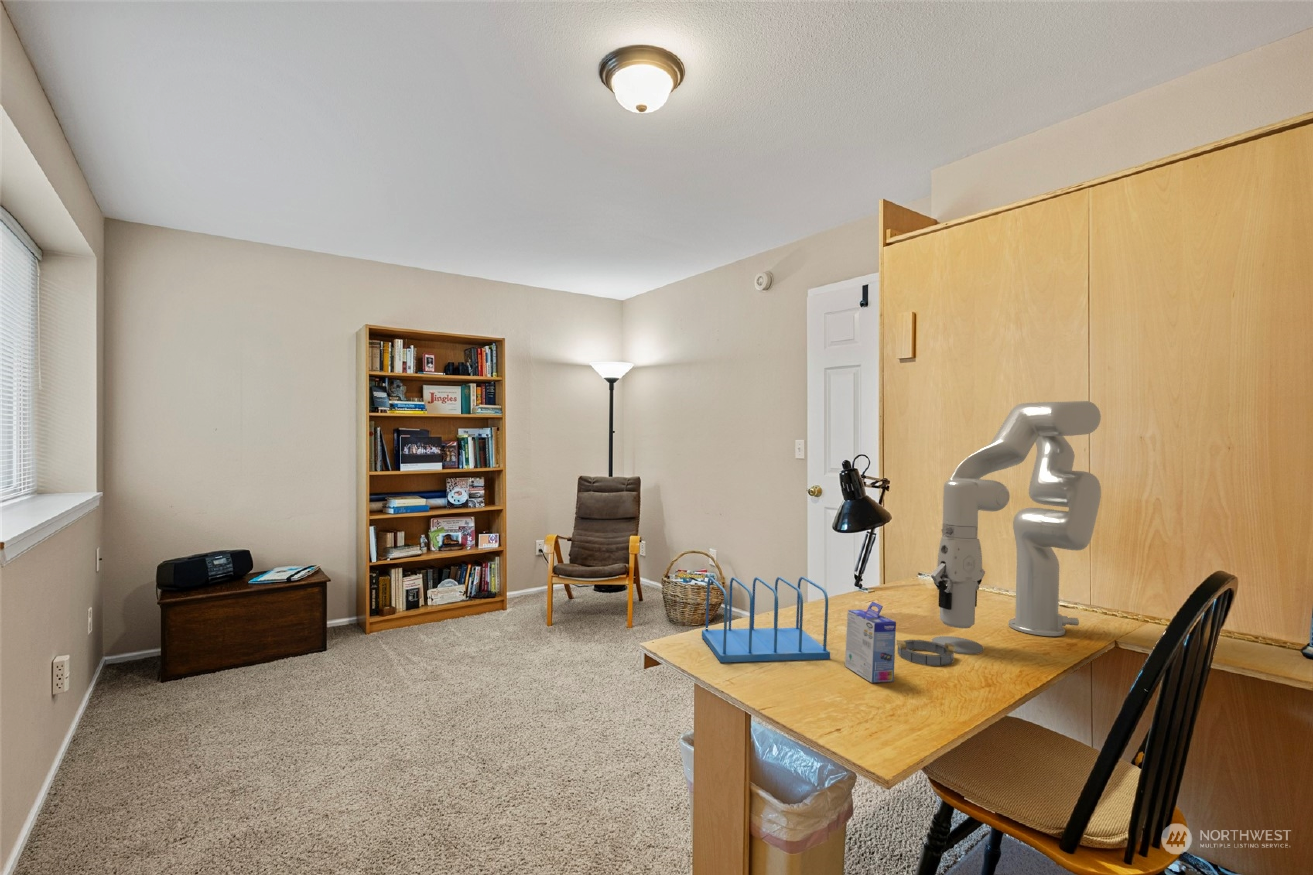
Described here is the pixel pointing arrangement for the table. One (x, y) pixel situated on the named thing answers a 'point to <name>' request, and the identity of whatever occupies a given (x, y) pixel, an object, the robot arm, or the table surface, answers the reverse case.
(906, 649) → the collar
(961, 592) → the can
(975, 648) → the coaster
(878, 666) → the ink cartridge box
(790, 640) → the file sorter
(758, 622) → the table surface
